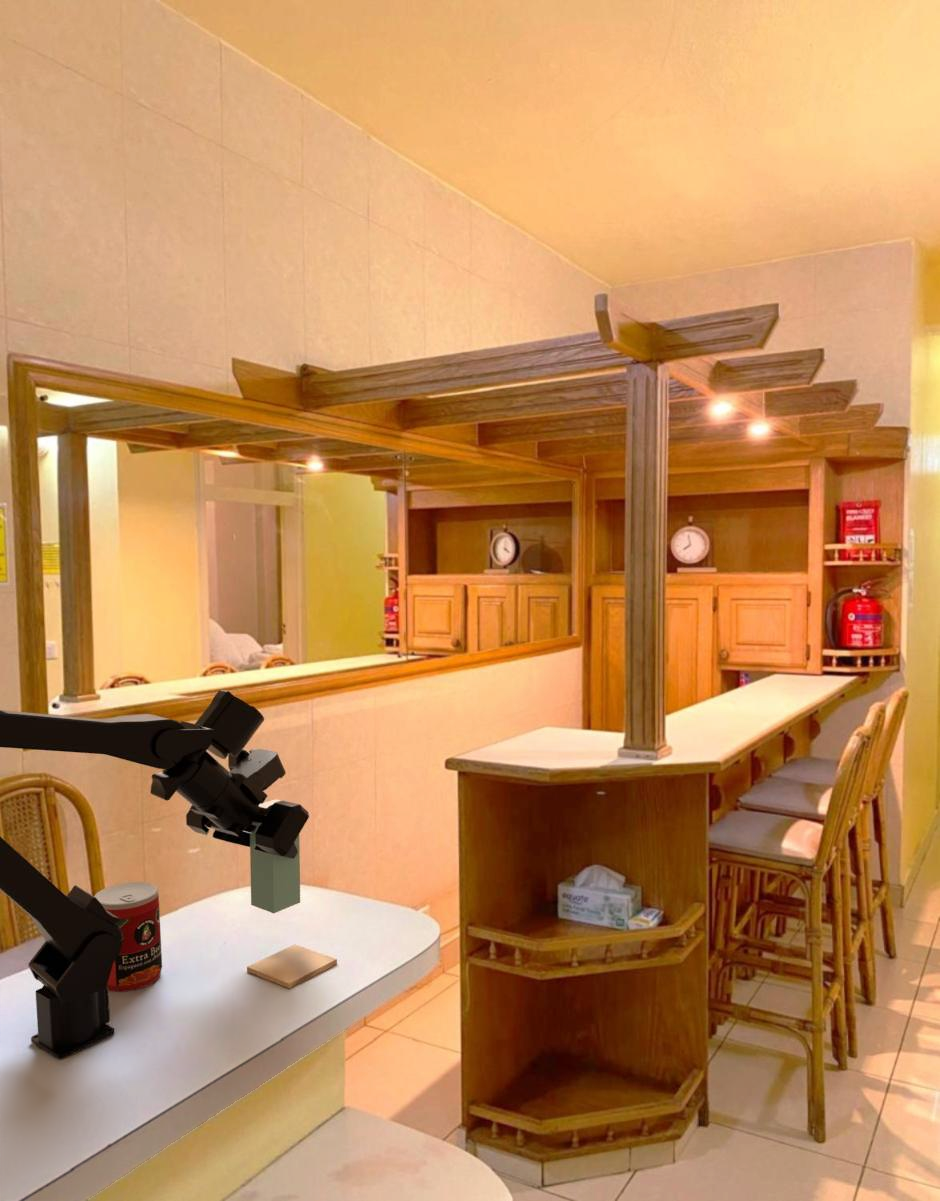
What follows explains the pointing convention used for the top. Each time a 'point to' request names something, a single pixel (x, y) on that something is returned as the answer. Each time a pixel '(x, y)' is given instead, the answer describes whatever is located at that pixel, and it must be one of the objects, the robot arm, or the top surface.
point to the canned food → (134, 934)
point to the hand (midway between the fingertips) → (283, 851)
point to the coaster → (291, 965)
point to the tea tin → (274, 876)
